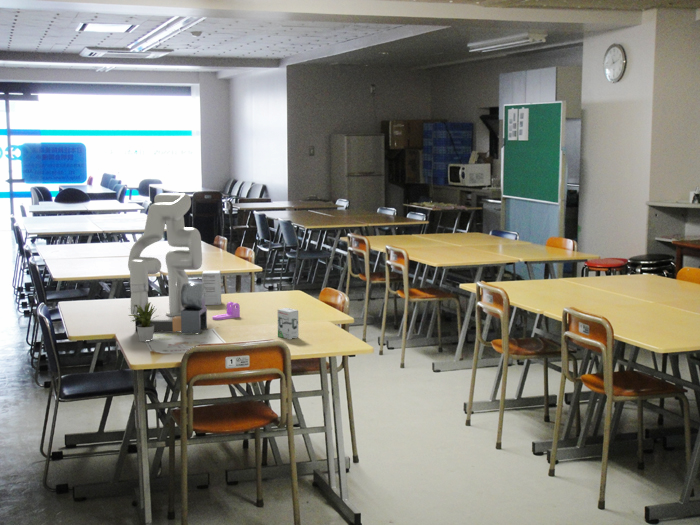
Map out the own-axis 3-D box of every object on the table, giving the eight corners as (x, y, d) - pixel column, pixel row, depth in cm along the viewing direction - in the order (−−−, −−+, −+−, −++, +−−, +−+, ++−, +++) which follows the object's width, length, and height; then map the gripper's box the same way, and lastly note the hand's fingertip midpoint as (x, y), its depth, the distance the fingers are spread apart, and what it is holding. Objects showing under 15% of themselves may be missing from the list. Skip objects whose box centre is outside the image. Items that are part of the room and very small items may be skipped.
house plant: (131, 336, 331) (130, 298, 329) (165, 335, 332) (163, 297, 330) (124, 344, 317) (122, 304, 315) (159, 343, 318) (157, 303, 316)
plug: (139, 329, 346) (138, 315, 345) (190, 329, 344) (190, 316, 343) (135, 331, 341) (134, 317, 340) (187, 332, 339) (187, 318, 338)
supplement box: (204, 302, 414) (203, 270, 412) (221, 301, 415) (220, 270, 413) (202, 305, 404) (201, 273, 402) (220, 304, 405) (219, 272, 403)
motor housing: (189, 327, 348) (188, 281, 345) (207, 328, 347) (205, 281, 345) (181, 333, 336) (179, 285, 333) (199, 333, 335) (198, 285, 333)
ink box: (277, 336, 330) (276, 308, 328) (286, 334, 333) (285, 307, 331) (290, 339, 323) (289, 311, 322) (299, 337, 327) (298, 310, 325)
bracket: (233, 315, 377) (232, 301, 376) (239, 317, 373) (239, 302, 372) (210, 319, 369) (209, 304, 368) (216, 320, 364) (216, 306, 364)
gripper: (138, 284, 350) (139, 325, 352) (124, 290, 333) (125, 332, 336) (154, 285, 349) (155, 325, 351) (141, 290, 333) (142, 333, 335)
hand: (141, 328), depth 343 cm, fingers closed on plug, 3 cm apart
